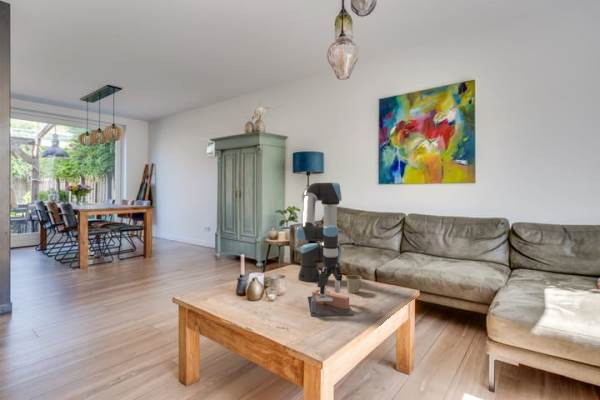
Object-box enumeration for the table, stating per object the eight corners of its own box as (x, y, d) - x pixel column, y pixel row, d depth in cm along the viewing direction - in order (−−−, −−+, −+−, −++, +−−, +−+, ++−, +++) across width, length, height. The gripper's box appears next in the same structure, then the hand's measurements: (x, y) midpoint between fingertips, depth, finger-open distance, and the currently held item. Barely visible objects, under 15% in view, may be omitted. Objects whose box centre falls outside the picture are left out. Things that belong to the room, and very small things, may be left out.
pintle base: (307, 298, 171) (307, 283, 170) (343, 297, 171) (343, 283, 171) (310, 316, 147) (310, 298, 146) (352, 315, 147) (352, 298, 147)
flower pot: (360, 289, 186) (360, 275, 185) (362, 294, 176) (362, 279, 176) (345, 289, 187) (345, 274, 186) (345, 294, 177) (345, 279, 177)
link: (312, 301, 163) (312, 292, 163) (319, 298, 168) (319, 288, 168) (344, 310, 151) (344, 300, 151) (350, 306, 156) (351, 296, 156)
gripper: (336, 250, 171) (336, 288, 172) (310, 259, 152) (310, 301, 153) (348, 252, 167) (348, 291, 168) (323, 261, 147) (323, 305, 148)
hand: (330, 296), depth 160 cm, fingers open, 13 cm apart
